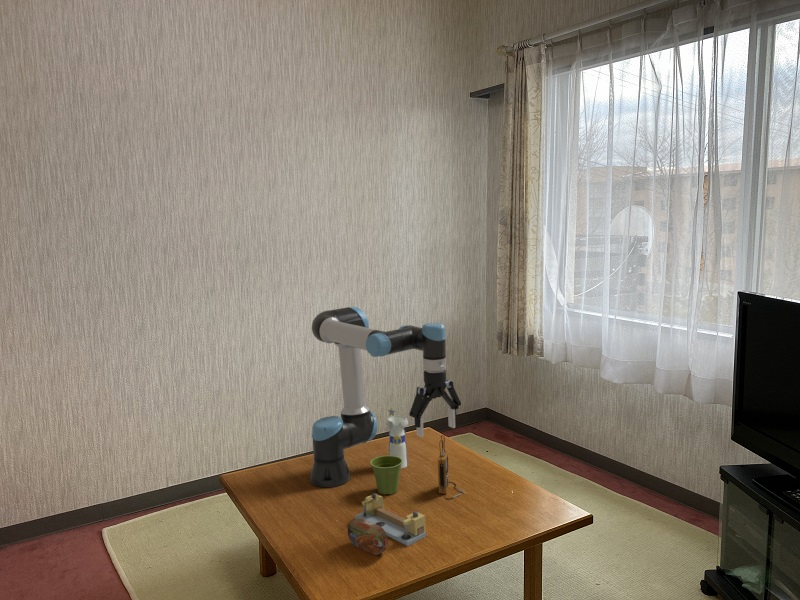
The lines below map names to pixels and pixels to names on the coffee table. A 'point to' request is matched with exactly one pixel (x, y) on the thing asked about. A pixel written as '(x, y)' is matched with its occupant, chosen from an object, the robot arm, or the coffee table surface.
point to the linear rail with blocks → (398, 525)
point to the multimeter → (444, 472)
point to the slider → (372, 504)
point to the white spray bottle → (397, 437)
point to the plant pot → (387, 473)
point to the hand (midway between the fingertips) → (436, 431)
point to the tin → (367, 536)
